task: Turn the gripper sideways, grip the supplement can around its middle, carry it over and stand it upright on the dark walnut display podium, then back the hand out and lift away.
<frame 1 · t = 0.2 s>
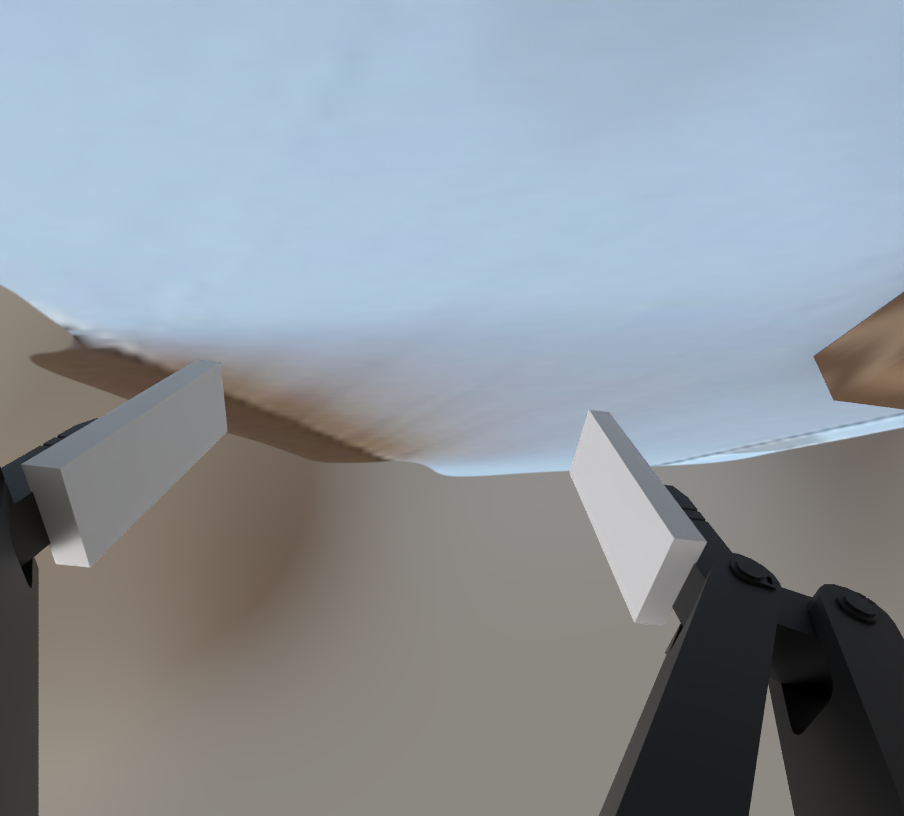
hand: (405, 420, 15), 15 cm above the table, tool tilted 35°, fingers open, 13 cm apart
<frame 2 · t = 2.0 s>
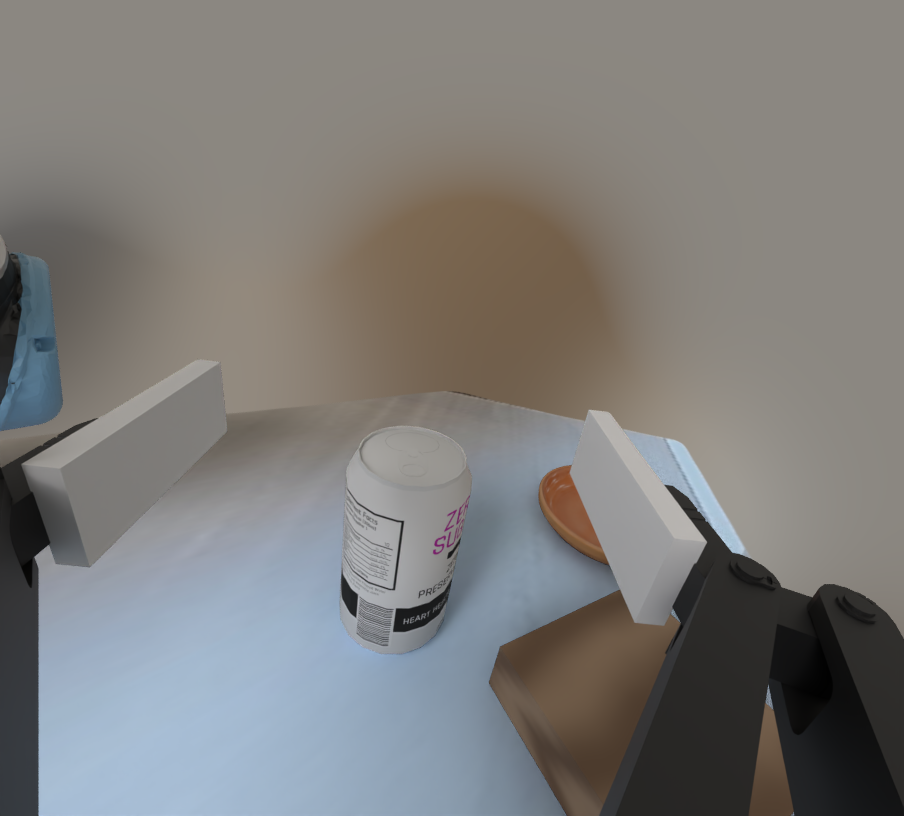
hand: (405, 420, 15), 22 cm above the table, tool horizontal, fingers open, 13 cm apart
podium: (633, 736, 28), on the table
supplement can: (392, 612, 34), on the table
saucer: (603, 527, 48), on the table
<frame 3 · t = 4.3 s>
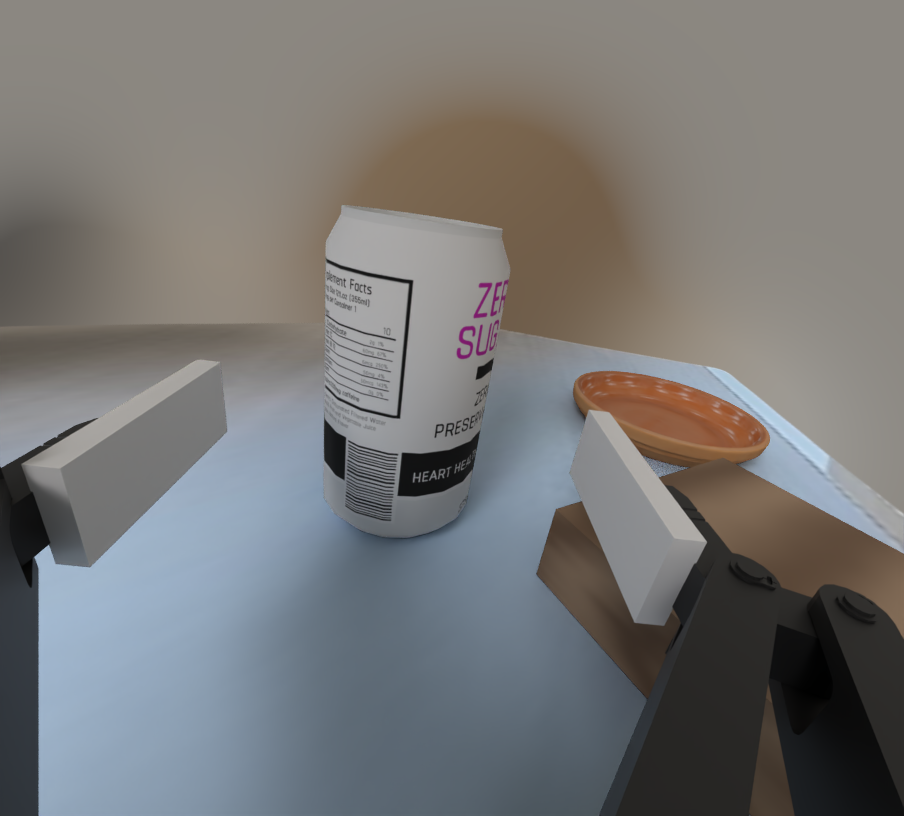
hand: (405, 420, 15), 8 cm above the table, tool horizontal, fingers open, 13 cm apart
podium: (755, 639, 19), on the table
supplement can: (395, 498, 25), on the table
saucer: (653, 433, 39), on the table
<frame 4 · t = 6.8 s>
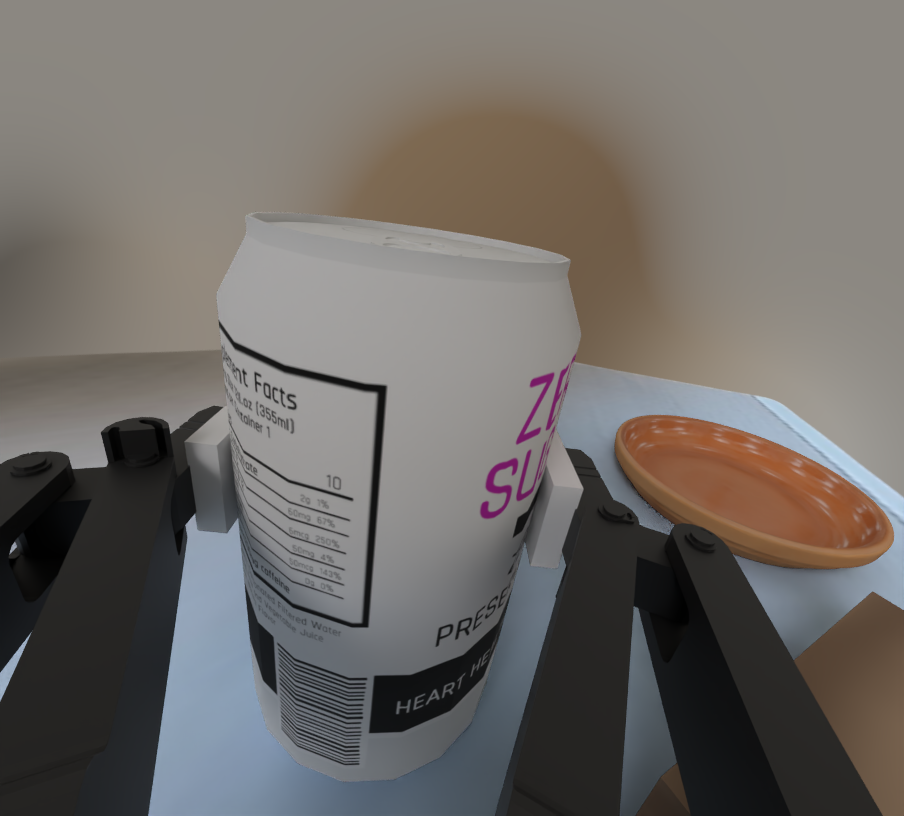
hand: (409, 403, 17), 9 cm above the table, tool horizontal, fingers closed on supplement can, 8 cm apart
supplement can: (376, 663, 16), on the table, touching gripper
saucer: (720, 503, 30), on the table
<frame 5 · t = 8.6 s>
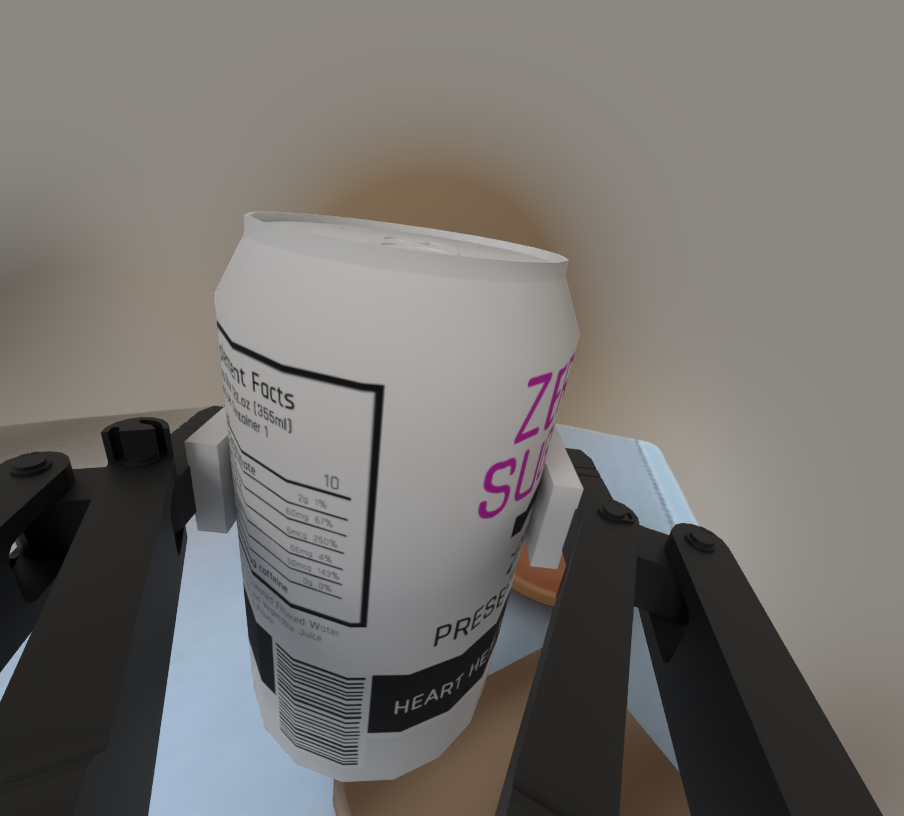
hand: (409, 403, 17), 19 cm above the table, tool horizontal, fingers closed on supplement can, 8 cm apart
supplement can: (374, 662, 16), point 10 cm above the table, touching gripper
saucer: (547, 551, 38), on the table
when the fingers open (14 cm above the table, at t = 10.5 s): supplement can drops 1 cm, resting on podium.
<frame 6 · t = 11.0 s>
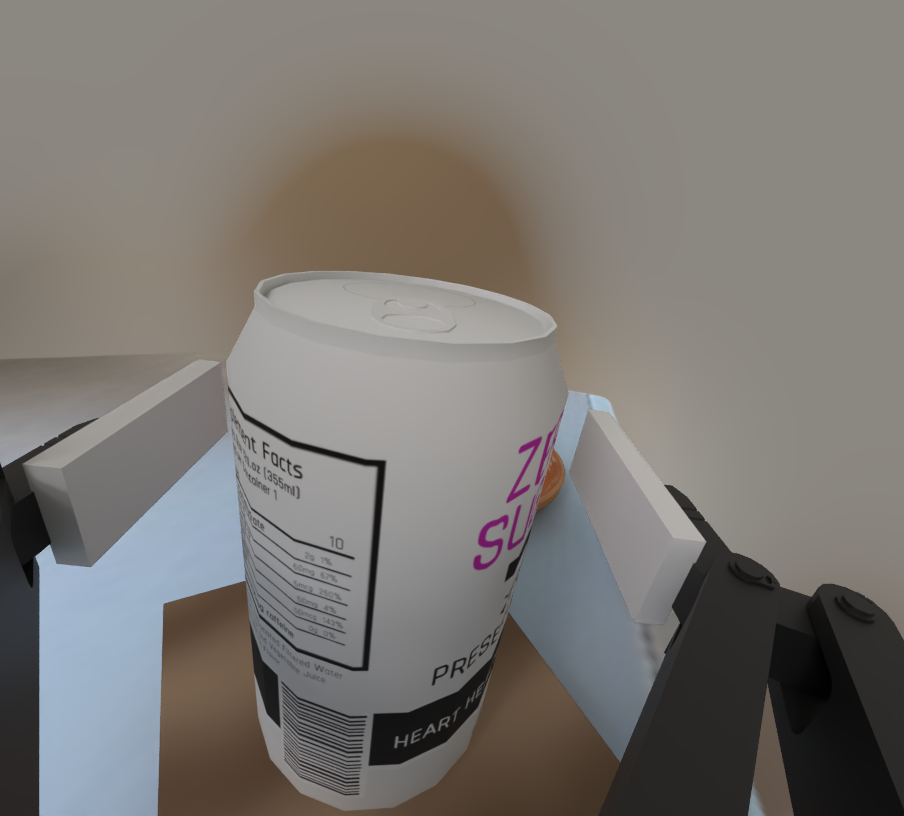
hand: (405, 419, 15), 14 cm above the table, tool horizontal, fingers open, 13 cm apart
podium: (368, 741, 18), on the table
supplement can: (374, 688, 17), point 4 cm above the table, touching podium
saucer: (467, 478, 38), on the table
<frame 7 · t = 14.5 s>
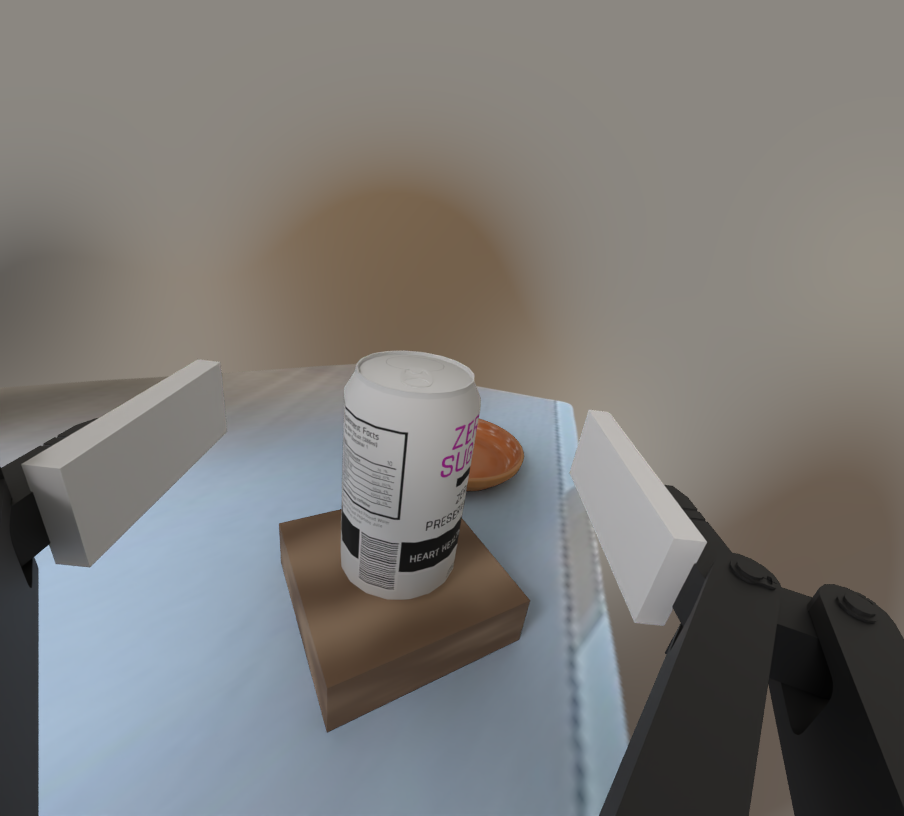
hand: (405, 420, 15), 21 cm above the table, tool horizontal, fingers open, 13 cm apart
podium: (393, 598, 33), on the table
supplement can: (397, 562, 31), point 4 cm above the table, touching podium
saucer: (455, 463, 53), on the table
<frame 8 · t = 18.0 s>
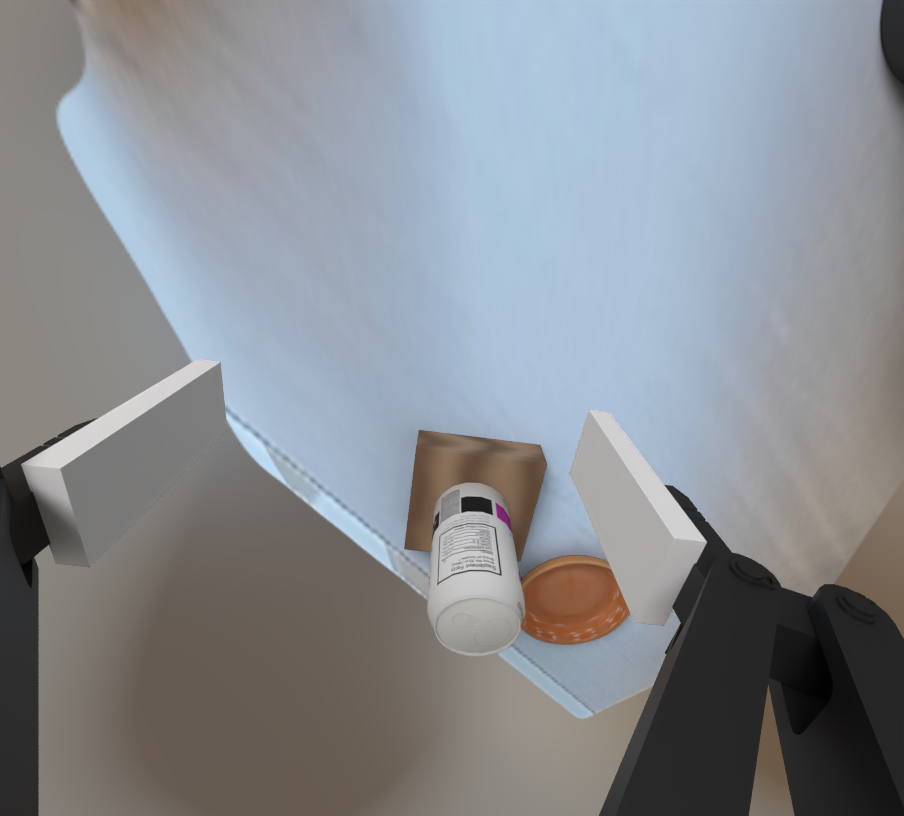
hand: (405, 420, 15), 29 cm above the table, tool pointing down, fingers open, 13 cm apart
podium: (470, 487, 51), on the table
supplement can: (470, 507, 48), point 4 cm above the table, touching podium
saucer: (567, 587, 59), on the table
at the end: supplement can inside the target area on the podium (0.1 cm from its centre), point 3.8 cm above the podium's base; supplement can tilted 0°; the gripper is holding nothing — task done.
